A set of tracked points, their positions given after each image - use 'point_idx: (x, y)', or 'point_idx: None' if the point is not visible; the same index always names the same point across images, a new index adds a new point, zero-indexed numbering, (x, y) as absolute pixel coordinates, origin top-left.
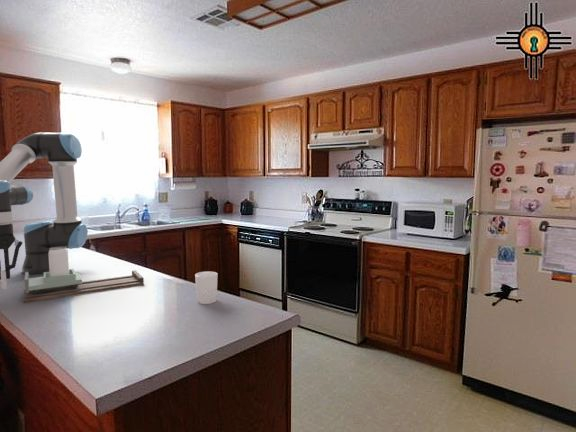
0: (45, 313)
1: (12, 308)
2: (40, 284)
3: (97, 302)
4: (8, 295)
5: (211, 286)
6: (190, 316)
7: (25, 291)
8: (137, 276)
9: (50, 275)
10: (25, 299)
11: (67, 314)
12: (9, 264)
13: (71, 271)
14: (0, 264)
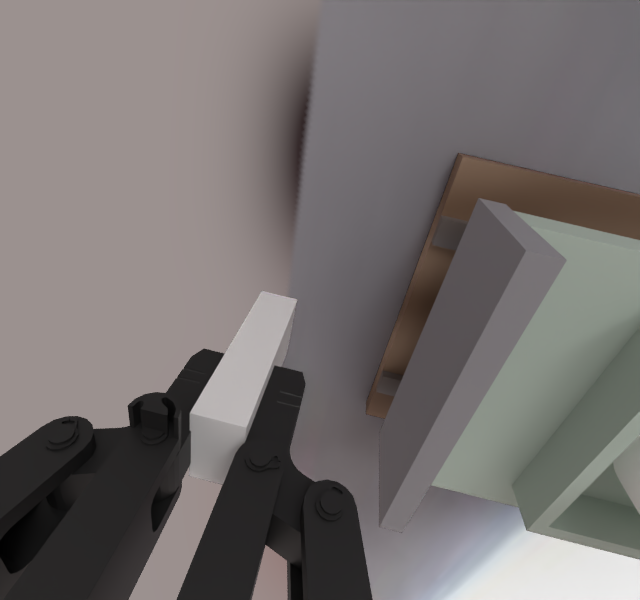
0: (383, 554)
1: (302, 440)
2: (477, 489)
3: (582, 587)
4: (330, 166)
5: None
6: None
7: (437, 244)
8: None
9: (635, 483)
10: (372, 415)
11: (431, 596)
12: (272, 513)
13: None
14: (144, 525)
